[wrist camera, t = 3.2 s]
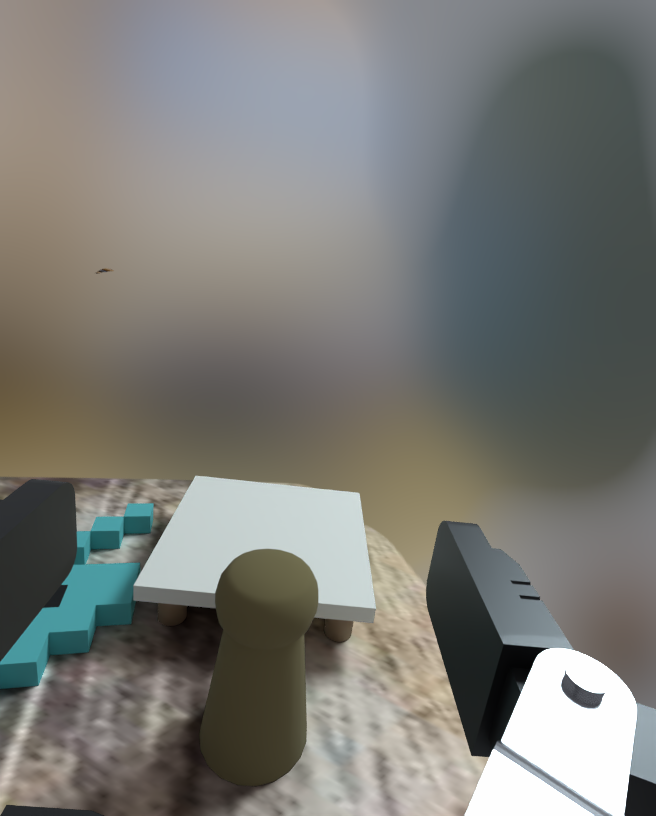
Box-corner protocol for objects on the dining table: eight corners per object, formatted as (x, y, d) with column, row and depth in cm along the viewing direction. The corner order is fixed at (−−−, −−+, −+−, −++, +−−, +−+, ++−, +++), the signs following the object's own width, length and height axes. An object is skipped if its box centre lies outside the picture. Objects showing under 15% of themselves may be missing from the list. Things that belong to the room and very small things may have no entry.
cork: (270, 810, 23) (293, 631, 20) (175, 748, 26) (180, 576, 22) (324, 713, 29) (349, 558, 25) (241, 668, 31) (254, 520, 28)
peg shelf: (133, 634, 32) (133, 585, 31) (194, 511, 48) (195, 475, 46) (367, 655, 33) (375, 608, 32) (353, 528, 48) (359, 492, 47)
